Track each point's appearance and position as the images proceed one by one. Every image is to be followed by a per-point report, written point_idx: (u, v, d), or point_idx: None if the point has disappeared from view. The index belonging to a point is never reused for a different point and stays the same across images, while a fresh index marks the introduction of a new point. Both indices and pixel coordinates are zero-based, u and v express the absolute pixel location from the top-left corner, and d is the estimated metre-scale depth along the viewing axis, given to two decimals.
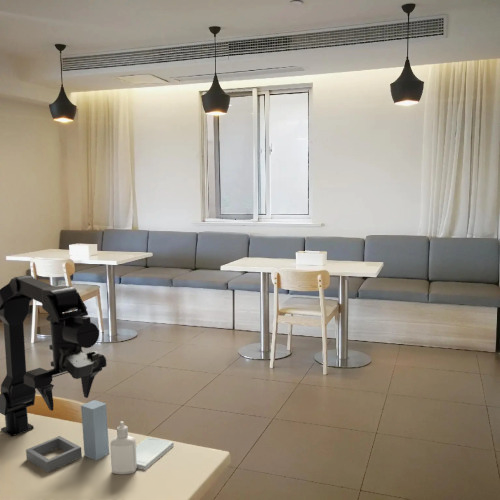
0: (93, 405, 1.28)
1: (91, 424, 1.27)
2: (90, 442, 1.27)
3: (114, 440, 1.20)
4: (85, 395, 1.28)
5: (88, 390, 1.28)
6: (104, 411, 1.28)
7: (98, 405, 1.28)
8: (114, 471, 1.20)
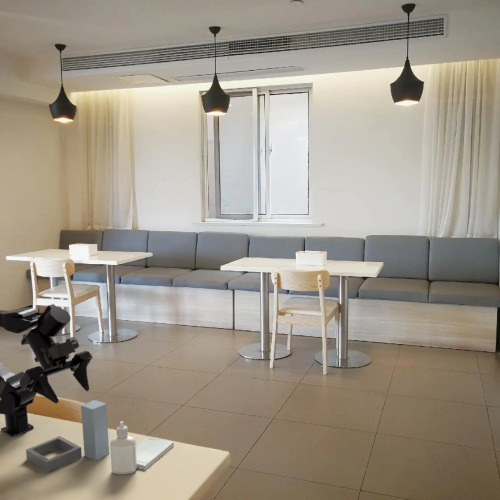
0: (93, 405, 1.28)
1: (91, 424, 1.27)
2: (90, 442, 1.27)
3: (114, 440, 1.20)
4: (86, 388, 1.37)
5: (86, 382, 1.37)
6: (104, 411, 1.28)
7: (98, 405, 1.28)
8: (114, 471, 1.20)
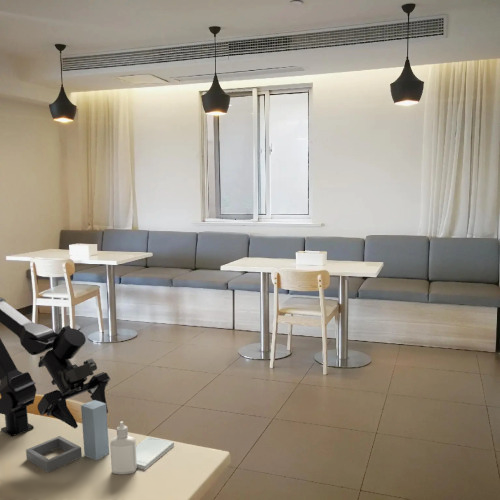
0: (93, 405, 1.28)
1: (91, 424, 1.27)
2: (90, 442, 1.27)
3: (114, 440, 1.20)
4: None
5: None
6: (104, 411, 1.28)
7: (98, 405, 1.28)
8: (114, 471, 1.20)
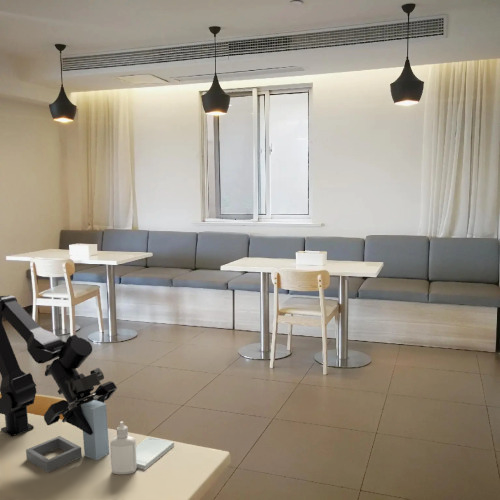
0: (93, 405, 1.28)
1: (91, 424, 1.27)
2: (90, 442, 1.27)
3: (114, 440, 1.20)
4: None
5: None
6: (104, 411, 1.28)
7: (98, 405, 1.28)
8: (114, 471, 1.20)
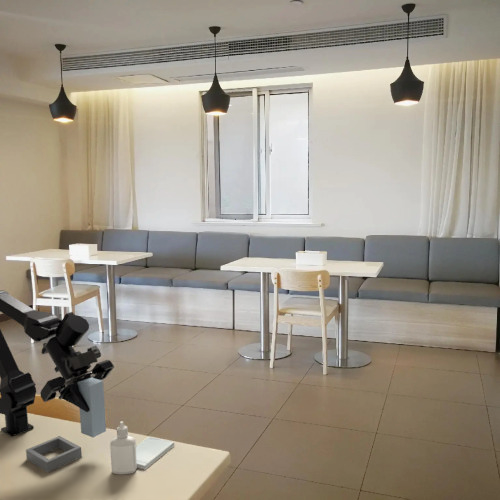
0: (90, 382, 1.27)
1: (87, 401, 1.26)
2: (87, 419, 1.27)
3: (114, 440, 1.20)
4: None
5: None
6: (101, 388, 1.28)
7: (95, 382, 1.27)
8: (114, 471, 1.20)
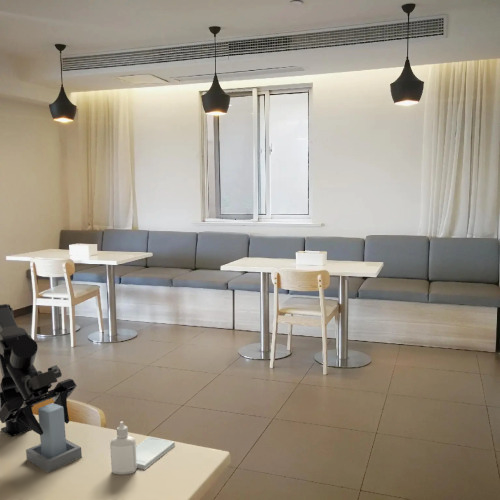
0: (50, 408, 1.27)
1: (47, 427, 1.25)
2: (47, 445, 1.26)
3: (114, 440, 1.20)
4: (66, 420, 1.30)
5: (66, 414, 1.30)
6: (61, 414, 1.27)
7: (55, 408, 1.27)
8: (114, 471, 1.20)
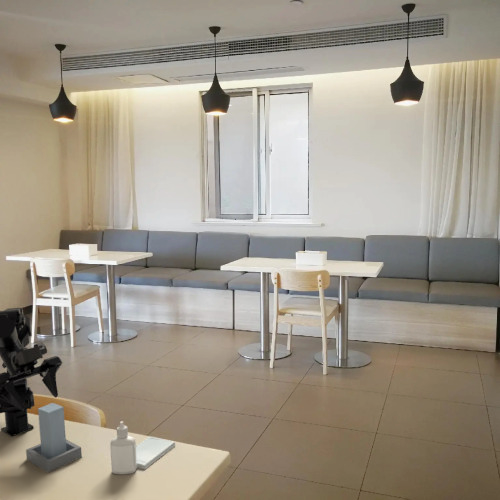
0: (50, 408, 1.27)
1: (47, 428, 1.25)
2: (47, 445, 1.26)
3: (114, 440, 1.20)
4: (55, 394, 1.34)
5: (55, 388, 1.34)
6: (61, 414, 1.27)
7: (55, 408, 1.26)
8: (114, 471, 1.20)
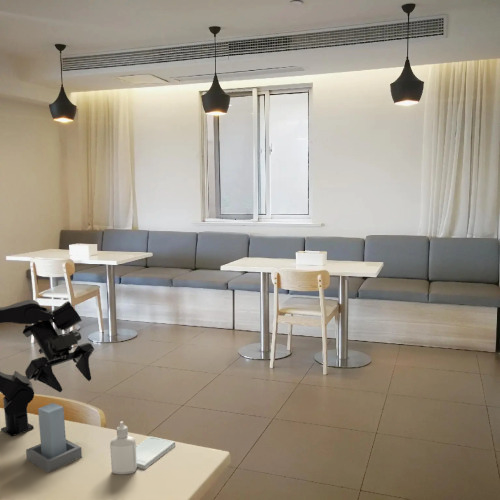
0: (50, 408, 1.27)
1: (47, 428, 1.25)
2: (47, 445, 1.26)
3: (114, 440, 1.20)
4: (88, 378, 1.44)
5: (88, 372, 1.44)
6: (61, 414, 1.27)
7: (55, 408, 1.26)
8: (114, 471, 1.20)
